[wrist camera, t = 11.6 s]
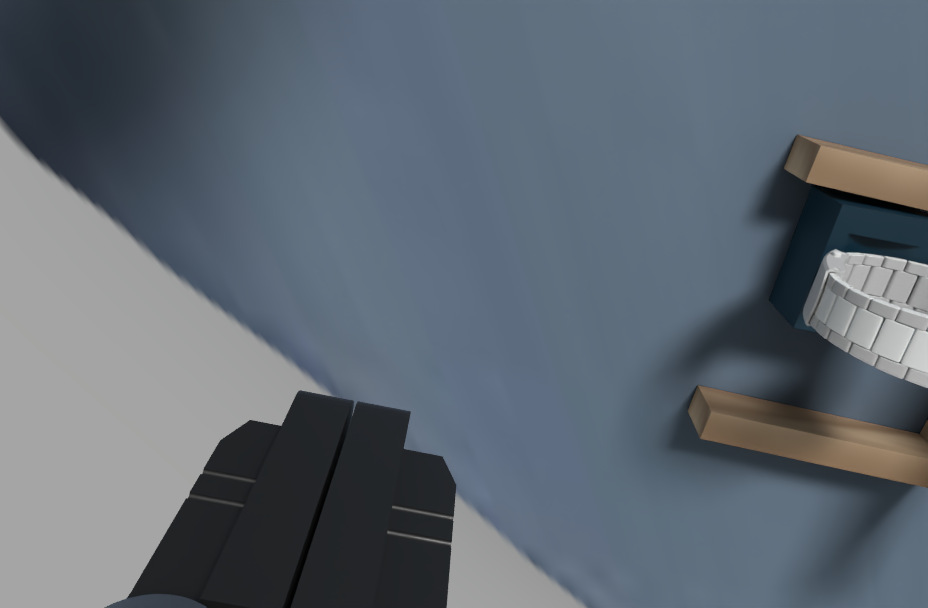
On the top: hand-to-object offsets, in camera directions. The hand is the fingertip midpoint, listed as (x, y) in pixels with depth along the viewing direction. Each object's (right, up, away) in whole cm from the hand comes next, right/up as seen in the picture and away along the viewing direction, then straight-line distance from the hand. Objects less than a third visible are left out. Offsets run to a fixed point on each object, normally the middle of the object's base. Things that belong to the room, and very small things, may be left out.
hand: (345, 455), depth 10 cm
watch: (+19, +4, +24) cm, 30 cm away
